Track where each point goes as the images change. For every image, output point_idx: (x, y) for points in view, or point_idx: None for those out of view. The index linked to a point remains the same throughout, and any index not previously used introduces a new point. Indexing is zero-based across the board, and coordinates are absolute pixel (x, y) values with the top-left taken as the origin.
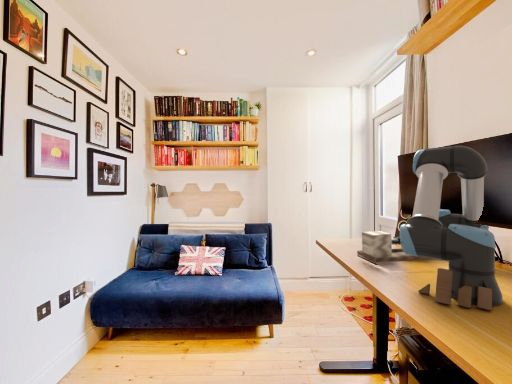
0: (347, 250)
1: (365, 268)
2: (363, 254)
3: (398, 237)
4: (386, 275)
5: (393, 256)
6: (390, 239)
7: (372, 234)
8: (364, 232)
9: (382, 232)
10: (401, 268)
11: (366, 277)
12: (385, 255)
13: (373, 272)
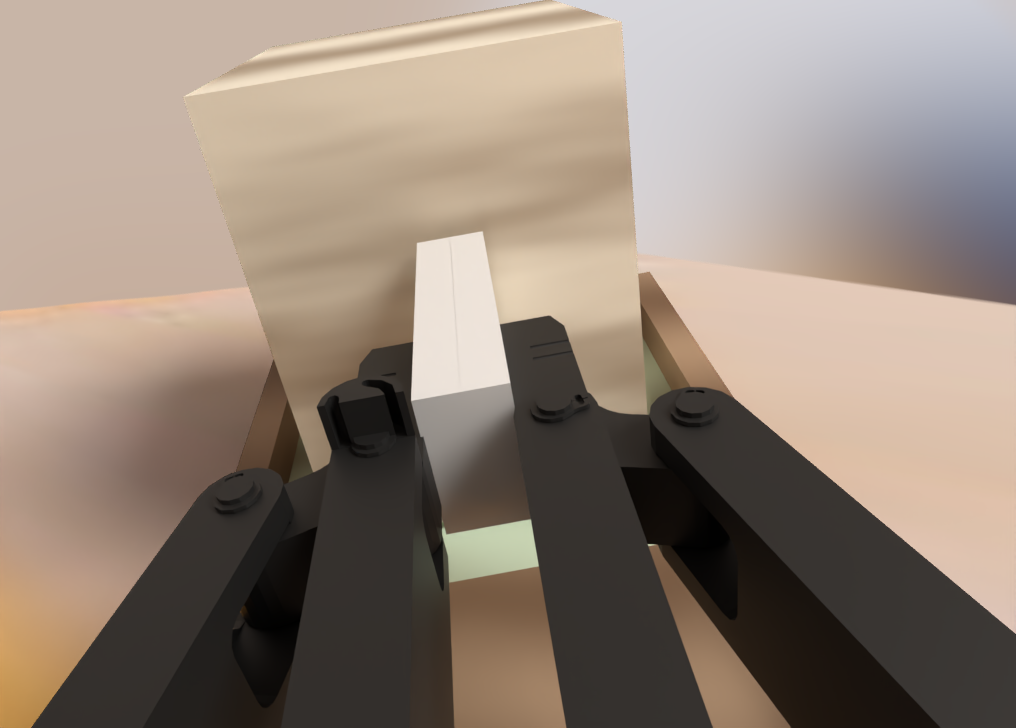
0: (951, 301)
1: (253, 328)
2: None
3: (755, 533)
4: (39, 395)
5: (457, 631)
6: (233, 221)
7: (323, 40)
8: (506, 7)
9: (399, 52)
10: (67, 572)
11: (102, 308)
12: None
13: (147, 348)
